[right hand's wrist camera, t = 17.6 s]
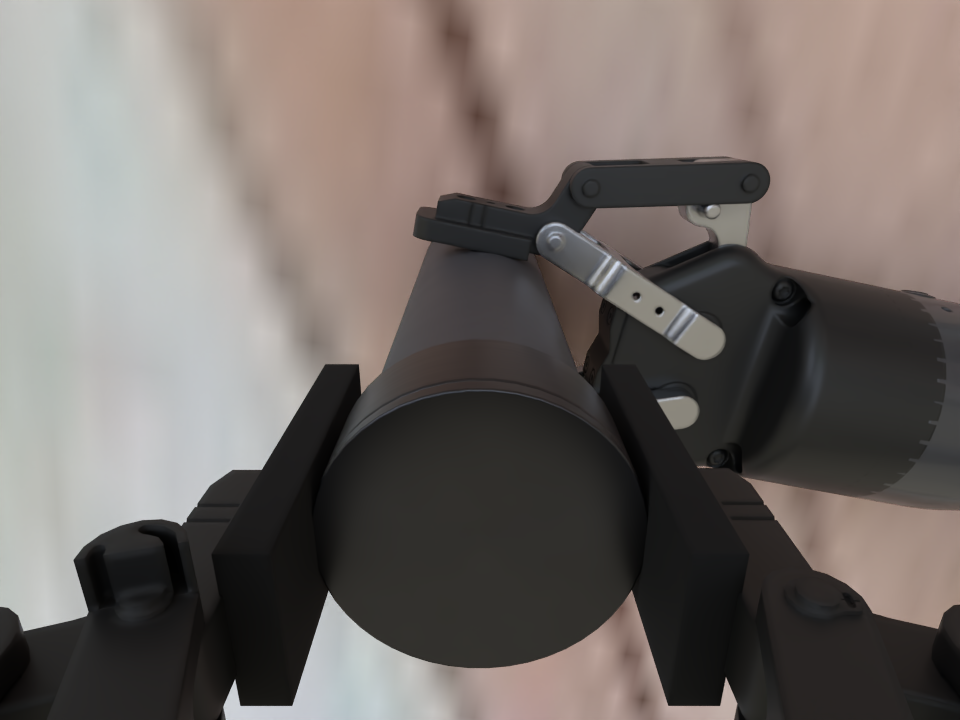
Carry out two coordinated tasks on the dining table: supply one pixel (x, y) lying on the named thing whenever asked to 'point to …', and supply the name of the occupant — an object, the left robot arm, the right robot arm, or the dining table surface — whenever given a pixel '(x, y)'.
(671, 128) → the dining table surface
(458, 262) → the jar
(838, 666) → the right robot arm
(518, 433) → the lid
